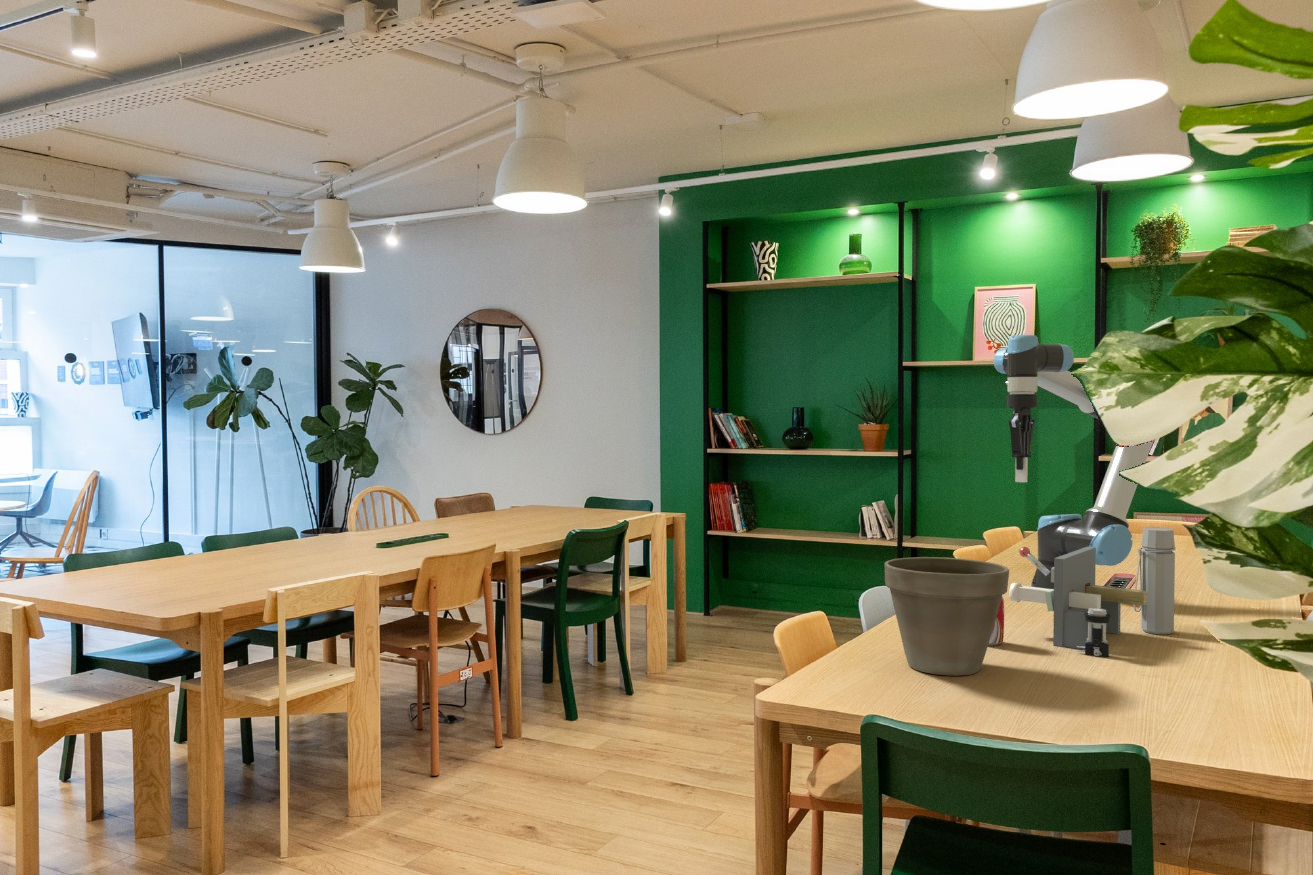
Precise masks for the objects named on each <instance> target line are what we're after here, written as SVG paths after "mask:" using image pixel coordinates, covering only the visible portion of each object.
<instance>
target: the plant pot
mask: <svg viewBox="0 0 1313 875" xmlns="http://www.w3.org/2000/svg"><path fill="white" fill-rule="evenodd" d="M1009 577H1010V568H1008V567H1006V566H1005V565H1002V564H999V563H995V562H992V561H991V562H990V561H983V560H978V559H977V560H975V559H968V558H956V557H942V556H941V557H935V556H931V557H930V556H929V557H928V556H919V557H902V558H900V557H899V558H894V559H890V560H886V561H885V562H884V583H885V586H886V587H887V588H889V590H890V596H891V600H892V605H893V608H894V613H895V616H896V622H897V625H898V630H899V634H900V638H901V642H902V646H903V650H904V655H905V659H906V663H907V664H908V666H909V667H910V668H912V669H914V670H916V671H918V672H921V673H927V674H931V675H939V676H953V677H955V676H956V677H957V676H958V677H959V676H961V677H962V676H969V675H975V674H976V673H978V672H979V671H980V670H981V668H982V666H983V662H984V659H985V656H986V652H987V650H988V644H989V640H990V637H991V634H992V630H993V627H994V624H995V620H996V617H997V613H998V610H999V606H1000V602H1001V598H1002V597H1003V595H1005V594H1007V592H1008V587H1009Z"/></svg>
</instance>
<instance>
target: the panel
mask: <svg viewBox="0 0 1313 875" xmlns="http://www.w3.org/2000/svg"><path fill="white" fill-rule="evenodd" d="M1051 582H1054V611H1053V629H1052V630H1053V636H1052V638H1053V639H1052V641H1053V644H1052V646H1053V647H1061V648H1063V647H1064V648H1069V649H1077V650H1083V651H1085V648H1080V647H1077V646H1084V647H1085V642H1086V641H1087V638H1088V621H1086V620H1085V615H1084V613H1085V612H1088V609H1084V608H1076V607H1069V591H1072V592H1080V593H1085V584H1089V585H1096V547H1085V548H1082V549H1079V550H1076V551H1074V552H1071V553H1068V554H1065V555H1062V556H1059V557H1056V558H1054V567H1053V568H1051ZM1121 604H1122V603H1117V602H1108V601H1101V608H1100V609H1105V610H1106V613H1107V614H1110V615H1111V617H1110V618H1109V622H1108V623H1106V634H1107V633H1108V634H1115V635H1118V634H1120V633H1121V612H1122V611H1121V610H1122V608H1121V607H1122V606H1121ZM1092 627H1093V624H1091V641H1090V642H1092ZM1101 628H1102V633H1103V625H1101Z"/></svg>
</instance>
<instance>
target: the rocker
mask: <svg viewBox="0 0 1313 875" xmlns="http://www.w3.org/2000/svg"><path fill="white" fill-rule="evenodd" d="M1045 596H1046V602H1047V604H1046V607H1047V612H1054V590H1052V591H1047V592H1045Z"/></svg>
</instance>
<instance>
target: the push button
mask: <svg viewBox="0 0 1313 875" xmlns="http://www.w3.org/2000/svg"><path fill="white" fill-rule="evenodd" d="M1084 615H1085V620H1086V621H1088V638H1087V641H1086V642H1085V647H1084V646H1077V647H1080V648H1085V650H1083V649H1077V650H1076V651H1077V652H1080V653H1084V654H1085V655H1086V656H1091V657H1092V656H1095V657H1104V658H1109V656H1110V654H1109V652H1110V650H1109V646H1110V645H1109V643H1108V640H1107V632H1106V623H1108V622H1109V618H1110V617H1111V615H1110V614H1107V613H1106V610H1105V609H1100V608H1089V609H1088V612H1085V613H1084ZM1091 624H1093V627H1092V642H1090V641H1091ZM1101 625H1103V632H1102V628H1101Z"/></svg>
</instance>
